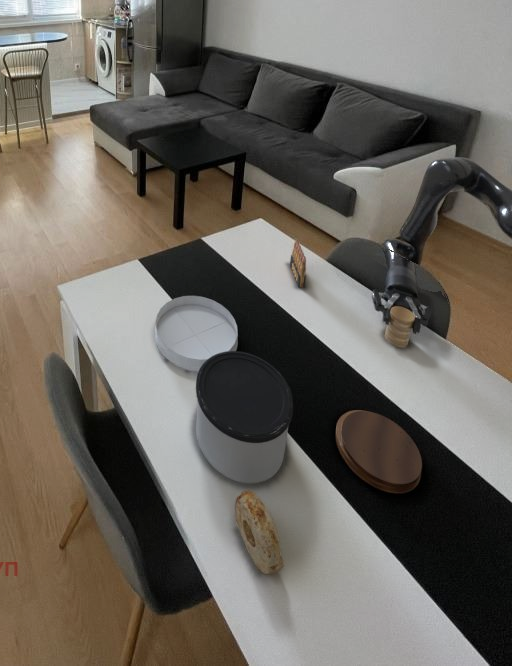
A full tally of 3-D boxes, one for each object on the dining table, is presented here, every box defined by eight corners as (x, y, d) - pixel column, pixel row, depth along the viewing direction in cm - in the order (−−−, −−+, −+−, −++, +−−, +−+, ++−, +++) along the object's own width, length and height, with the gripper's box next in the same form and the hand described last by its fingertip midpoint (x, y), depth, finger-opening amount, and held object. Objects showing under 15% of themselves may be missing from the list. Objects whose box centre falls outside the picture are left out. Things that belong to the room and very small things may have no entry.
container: (191, 394, 102) (192, 348, 96) (273, 399, 100) (279, 352, 94) (198, 484, 84) (200, 434, 79) (297, 492, 82) (306, 441, 77)
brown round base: (418, 440, 90) (422, 429, 88) (421, 514, 78) (425, 502, 77) (338, 405, 97) (341, 395, 96) (330, 468, 86) (332, 456, 84)
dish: (183, 388, 103) (183, 374, 101) (140, 324, 122) (140, 311, 120) (255, 353, 111) (256, 339, 109) (205, 298, 130) (205, 285, 128)
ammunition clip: (289, 266, 141) (293, 236, 137) (295, 267, 141) (299, 236, 137) (297, 289, 132) (302, 258, 127) (304, 290, 131) (308, 258, 127)
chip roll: (407, 338, 113) (414, 310, 110) (407, 353, 109) (415, 324, 106) (384, 330, 116) (390, 303, 112) (383, 344, 112) (390, 316, 108)
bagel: (228, 518, 79) (231, 484, 75) (245, 509, 80) (249, 476, 76) (264, 590, 70) (269, 556, 66) (283, 580, 71) (289, 546, 67)
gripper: (374, 266, 123) (371, 304, 110) (435, 283, 116) (439, 326, 103) (370, 287, 126) (366, 326, 113) (429, 304, 119) (432, 349, 105)
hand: (401, 326), depth 108 cm, fingers closed on chip roll, 5 cm apart
